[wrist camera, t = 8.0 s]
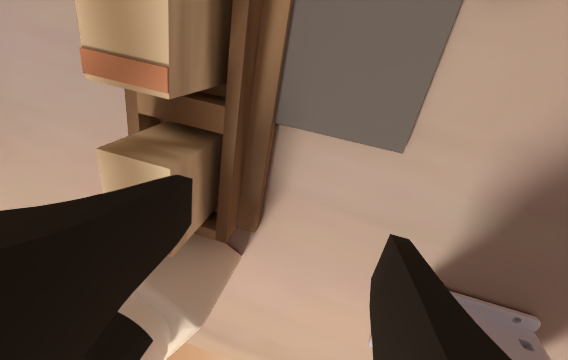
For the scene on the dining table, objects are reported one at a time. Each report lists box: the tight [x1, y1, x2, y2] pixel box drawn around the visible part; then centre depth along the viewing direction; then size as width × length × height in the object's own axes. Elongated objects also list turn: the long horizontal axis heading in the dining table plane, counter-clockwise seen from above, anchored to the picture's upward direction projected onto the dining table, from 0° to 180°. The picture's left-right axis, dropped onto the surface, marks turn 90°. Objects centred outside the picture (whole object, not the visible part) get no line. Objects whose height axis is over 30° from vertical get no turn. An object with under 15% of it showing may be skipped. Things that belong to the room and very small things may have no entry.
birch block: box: [75, 0, 233, 99], centre depth 13 cm, size 4×6×6 cm
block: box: [96, 121, 223, 258], centre depth 17 cm, size 4×6×6 cm
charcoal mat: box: [274, 0, 462, 154], centre depth 16 cm, size 8×9×1 cm
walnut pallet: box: [125, 0, 293, 243], centre depth 18 cm, size 10×17×3 cm, turn 171°
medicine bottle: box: [82, 234, 241, 360], centre depth 20 cm, size 7×7×12 cm
